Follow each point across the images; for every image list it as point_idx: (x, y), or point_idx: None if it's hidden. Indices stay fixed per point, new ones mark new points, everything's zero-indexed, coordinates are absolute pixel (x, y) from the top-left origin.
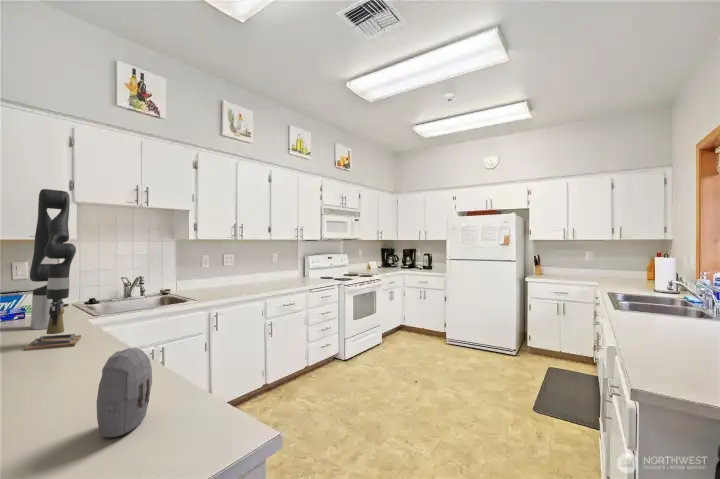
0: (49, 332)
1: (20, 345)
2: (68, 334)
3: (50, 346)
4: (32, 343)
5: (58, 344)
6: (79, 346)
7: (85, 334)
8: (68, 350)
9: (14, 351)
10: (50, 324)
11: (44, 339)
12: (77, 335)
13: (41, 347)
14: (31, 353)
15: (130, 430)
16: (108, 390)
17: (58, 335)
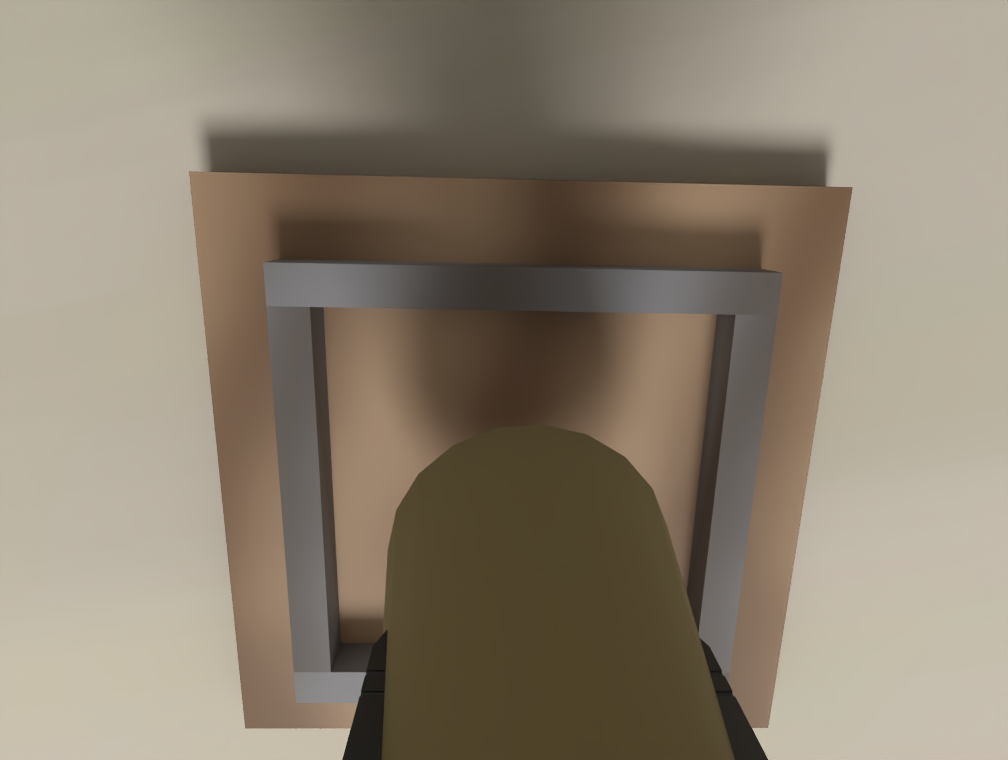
0: (411, 504)
1: (614, 26)
2: (729, 631)
3: (223, 481)
4: (471, 215)
5: (262, 565)
6: (242, 745)
7: (934, 719)
8: (67, 671)
9: (217, 38)
10: (412, 614)
11: (702, 328)
12: (766, 692)
13: (219, 378)
14: (22, 299)
15: None
16: None
17: (720, 515)
